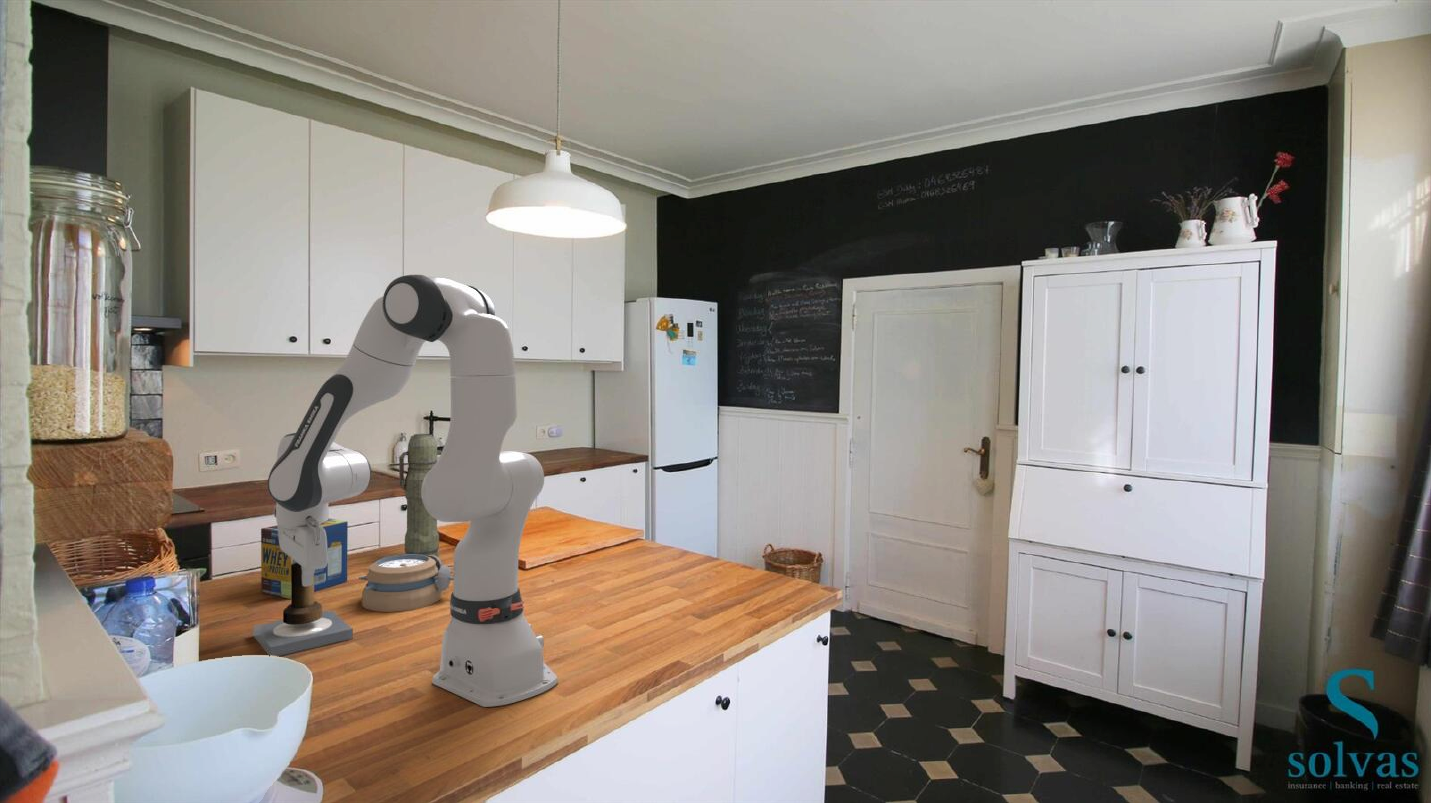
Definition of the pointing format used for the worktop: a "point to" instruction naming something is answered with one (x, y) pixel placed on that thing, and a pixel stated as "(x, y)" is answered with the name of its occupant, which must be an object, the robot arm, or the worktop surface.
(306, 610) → the brown tall post-shaped piece
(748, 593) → the worktop surface
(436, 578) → the alarm clock
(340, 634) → the slate plate
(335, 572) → the protein box
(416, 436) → the thermos
